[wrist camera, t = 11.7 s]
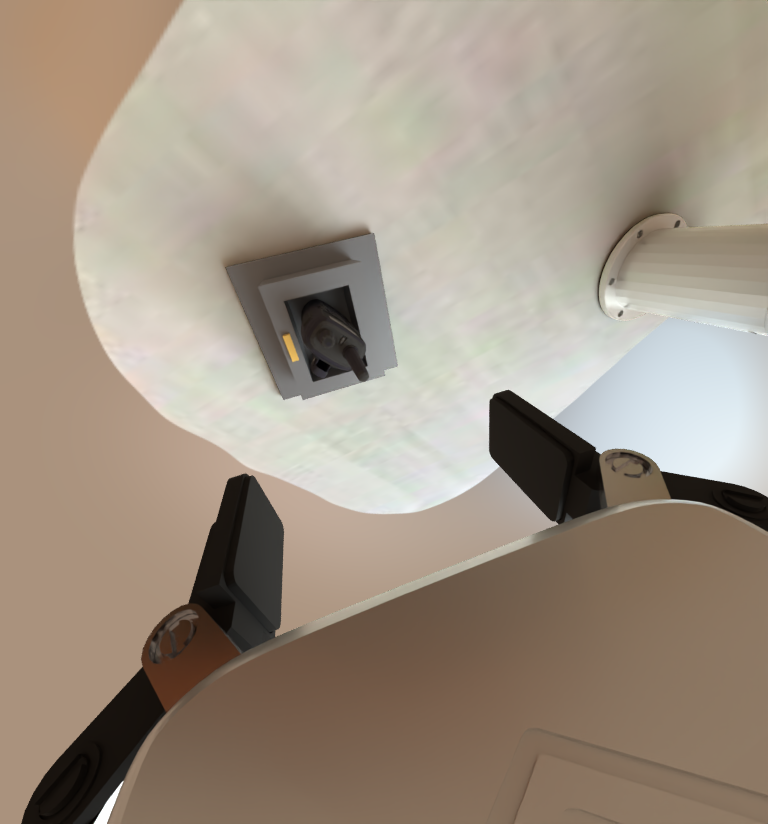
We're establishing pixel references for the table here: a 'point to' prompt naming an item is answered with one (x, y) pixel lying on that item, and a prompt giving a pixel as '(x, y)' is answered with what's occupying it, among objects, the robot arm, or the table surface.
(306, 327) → the two-way radio
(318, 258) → the charging dock
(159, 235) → the table surface
